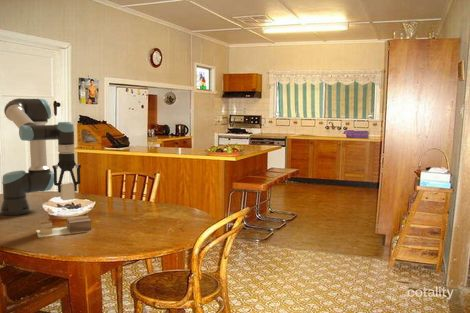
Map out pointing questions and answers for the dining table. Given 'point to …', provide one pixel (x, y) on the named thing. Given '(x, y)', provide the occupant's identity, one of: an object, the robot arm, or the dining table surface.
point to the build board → (57, 232)
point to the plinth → (78, 224)
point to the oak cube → (46, 227)
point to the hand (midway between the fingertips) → (67, 198)
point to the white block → (67, 191)
